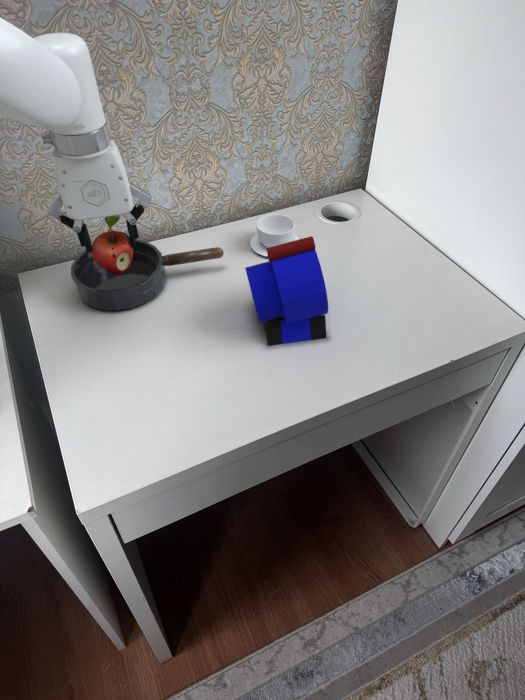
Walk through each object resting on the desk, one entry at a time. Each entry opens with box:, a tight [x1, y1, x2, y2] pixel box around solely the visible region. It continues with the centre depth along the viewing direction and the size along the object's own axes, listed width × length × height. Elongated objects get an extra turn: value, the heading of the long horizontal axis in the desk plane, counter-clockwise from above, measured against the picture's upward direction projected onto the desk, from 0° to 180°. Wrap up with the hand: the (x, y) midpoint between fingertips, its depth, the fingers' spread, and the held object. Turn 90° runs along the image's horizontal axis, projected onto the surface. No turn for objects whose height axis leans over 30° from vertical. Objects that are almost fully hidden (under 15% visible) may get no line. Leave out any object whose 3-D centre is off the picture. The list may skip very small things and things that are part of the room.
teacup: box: [249, 213, 300, 258], centre depth 93 cm, size 10×10×5 cm
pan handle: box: [162, 246, 224, 267], centre depth 86 cm, size 12×2×2 cm, turn 104°
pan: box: [70, 239, 167, 311], centre depth 85 cm, size 16×16×4 cm
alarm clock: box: [244, 235, 329, 347], centre depth 75 cm, size 12×12×15 cm
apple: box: [91, 215, 133, 275], centre depth 81 cm, size 8×7×10 cm
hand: (111, 244), depth 81 cm, fingers closed on apple, 6 cm apart
